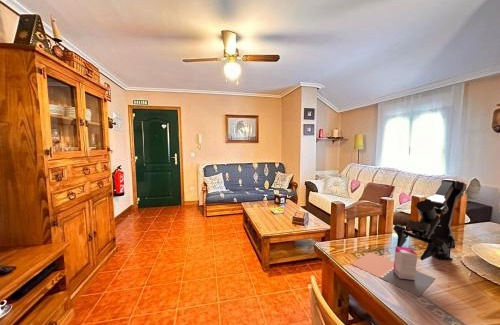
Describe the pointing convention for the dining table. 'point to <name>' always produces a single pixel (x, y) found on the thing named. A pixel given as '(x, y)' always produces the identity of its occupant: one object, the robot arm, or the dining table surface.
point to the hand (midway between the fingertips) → (408, 254)
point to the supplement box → (405, 263)
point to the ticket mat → (392, 273)
